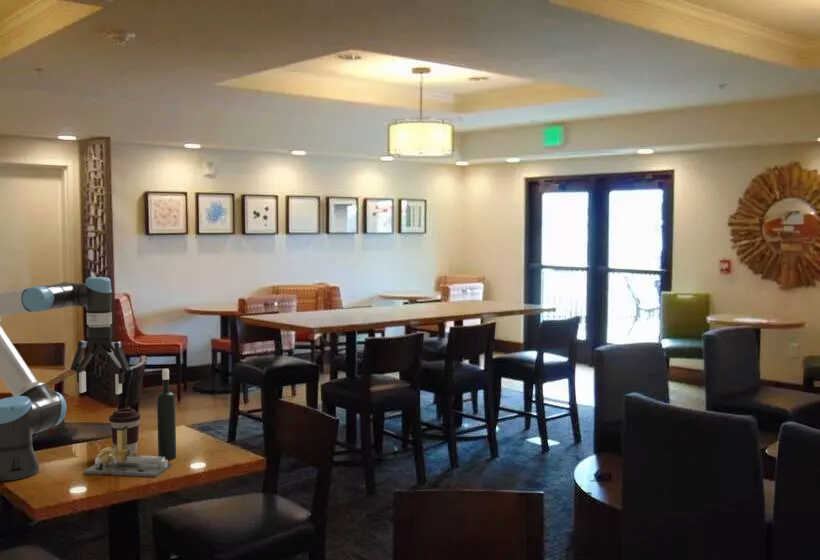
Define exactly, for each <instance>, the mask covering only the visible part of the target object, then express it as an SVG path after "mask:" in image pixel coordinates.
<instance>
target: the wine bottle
mask: <svg viewBox="0 0 820 560" xmlns="http://www.w3.org/2000/svg"><path fill="white" fill-rule="evenodd" d="M161 378H162V392H159V393H158V395H157V396H156V408H157V410H156V414H157V415H156V416H157V417H156V418H157V456H165V459H168V460H169V461H170V460H174V459H176V458H177V432H176V431H177V430H176V429H177V427H176V396H175V395H176V394H175V393H173V392H172V391H170V370H169V368H162V371H161Z"/></svg>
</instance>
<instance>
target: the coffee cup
mask: <svg viewBox="0 0 820 560" xmlns="http://www.w3.org/2000/svg"><path fill="white" fill-rule="evenodd" d="M140 419H141V414H140V412H139V413H138V412H137V411H136V409H134V408H119V409H116V410H114V411H113V414H110V415H109V417H108V420H109V422H110V423H111V425H110V429H111V430H110V431H111V441H112V445H113V447H115V452H116V451H117V430H116V428H117V427H119V426H121V425H128V428H127V449H130V455H137V453H138V442H139V427H140V424H139V420H140Z"/></svg>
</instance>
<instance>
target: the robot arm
mask: <svg viewBox="0 0 820 560" xmlns="http://www.w3.org/2000/svg"><path fill="white" fill-rule="evenodd" d="M112 292H113V290H112V282H111V279H110V278H109V277H106V276H96V277H94V276H90V277H87V278H86V279H85V283H81V282H80V283H79V282H65V281H64V282H57V283H54V284H47V285H46V284H45V285H35V286H32V287H24V288H18V289H11V290H3V291H0V323H1V322H2V316H10V315H11V316H12V315H19V314H25V313H36V312H38V313H39V312H43V311H49V310H55V309H63V308H71V307H83V308H86V325H87V327H86V338H87V341H85V340H80V341H78V342H77V349H76V352H75V354H74V356H73V357H74V358H73V360H72V363H71V365H70V370H71V371H74V372H76V381H77V383H78V387H79V389H78V390H79V391H78V392H79V394H82V393H85V392H87V372H86V371H85V368H86V367H87V366H88V364H89V362H91V360H92V358H93V356H94V355H95V356H97V355H99V356H105V358H107V359H108V361H109V362H110V363H111V365H112V367H113V368H114V370H115V371H116V372H117V373H114V374H115V376H114V377H115V378H114V379H115V383H114V385H115V395H120V394H122V393H123V384H124V383H125V373H126V372H129V371H131V368H130V364H129V363H128V359H127V357H126V355H125V352H124V349H123V343H122V341H116V342H115V341H113V340H112V339H113V326H112V324H113V313H112V312H113V311H112ZM86 347H87V348H88V350H87V352H86V354H85V356H84V357H83V355H84V353H85V350H86ZM112 347H113V349H114V350H112ZM115 354H116V355H115ZM0 378H1V380H2V381H3V383H4V384H5V386H6V388H7V389H8V390H9V392H10V393H11V394H12V396H10V397H5V398H0V482H1V481H2V482H4V481H15V480H21V479H26V478H29V477H33V476H34V475H36V474H38V473H39V472H40V464H39V461H38V459H37V456H36V452H35V451H34V450H35V449H34V448H33V435H34V434H35V435H36V434H37V433H40V432H44V431H45V430H46V431H47V430H50V429H53V428H54V427H55V426H58V425H60V424H61V423H62V422H63V421H64V419H65V417H66V415H67V407H68V406H67V402H66V399H65V397H64V396H63V395H62V393H60V392H58V391H55V390H50V388H49V387H48V386H47V384H46V383H45V382H40V381H38V379H37V377H35V375H34V373H33V371H32V370H31V369H30V367H29V366H28V365H27V363H26V362H25V360H24V359H23V357H22V355H21V354H20V352H19V351H18V349H17V348H16V347H15V345H14V343H13V341H12V340H11V339H10V338H9V336H8V334H7V333H6V331H5V330H4V328H3V327H2V326H1V324H0Z"/></svg>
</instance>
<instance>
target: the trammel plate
mask: <svg viewBox="0 0 820 560" xmlns="http://www.w3.org/2000/svg"><path fill="white" fill-rule="evenodd" d="M113 454H115V447H114V446H106V447H104V448H102V449H101V450H100V453H97V454H96V458H94V464H93V465H92V466H89V467H87V468H86V469H84V470H83V474H84V473H86V474H87V475H88V474H89V475H102V474H114V475H113V476H123V475H127V476H129V477H144V478H145V477H147V478H156V477H158V476H160V475H161V474H163V473H165V472H166V471H167V470H169V469H170V468H172V467H173V465H172V463H168V462H169V461H168V459H165V456H158V455H140V454H139V455H137V454H134V455H125V462H117V468H114V458H112V455H113ZM90 473H91V474H90Z"/></svg>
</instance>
